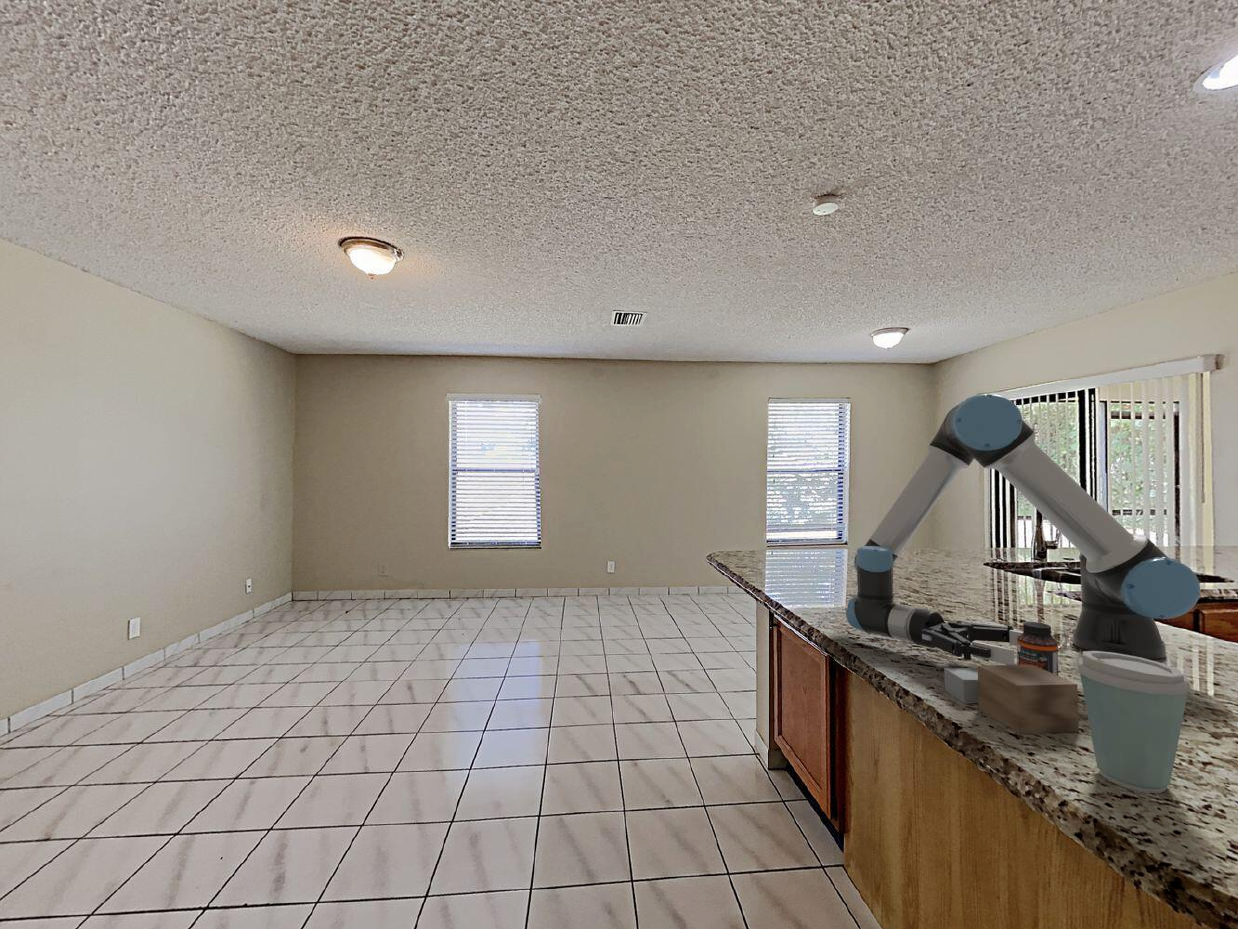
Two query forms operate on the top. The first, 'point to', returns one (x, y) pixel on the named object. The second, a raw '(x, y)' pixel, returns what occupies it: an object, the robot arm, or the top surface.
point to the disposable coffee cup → (1133, 717)
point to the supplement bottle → (1037, 647)
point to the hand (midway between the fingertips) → (1032, 651)
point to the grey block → (962, 683)
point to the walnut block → (1028, 698)
